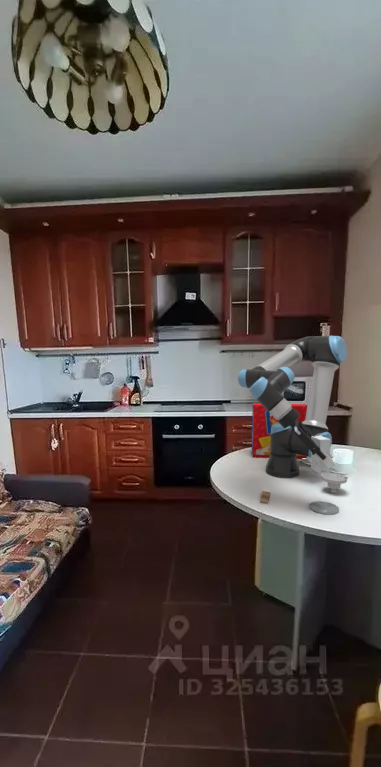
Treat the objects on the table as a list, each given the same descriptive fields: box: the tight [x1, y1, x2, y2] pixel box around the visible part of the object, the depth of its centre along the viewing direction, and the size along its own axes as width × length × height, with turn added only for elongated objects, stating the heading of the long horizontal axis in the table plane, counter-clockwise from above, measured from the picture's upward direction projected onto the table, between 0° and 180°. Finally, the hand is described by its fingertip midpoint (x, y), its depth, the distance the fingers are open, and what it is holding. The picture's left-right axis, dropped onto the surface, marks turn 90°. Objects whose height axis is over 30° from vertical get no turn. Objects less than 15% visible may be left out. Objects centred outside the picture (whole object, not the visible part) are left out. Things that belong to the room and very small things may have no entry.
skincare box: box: [310, 436, 331, 475], centre depth 130 cm, size 6×4×12 cm
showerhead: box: [321, 471, 349, 494], centre depth 147 cm, size 9×7×10 cm
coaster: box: [308, 500, 340, 516], centre depth 132 cm, size 10×10×1 cm
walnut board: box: [259, 490, 271, 505], centre depth 140 cm, size 10×3×1 cm, turn 164°
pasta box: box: [251, 402, 308, 460], centre depth 196 cm, size 28×8×28 cm, turn 85°
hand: (330, 462), depth 129 cm, fingers closed on skincare box, 7 cm apart
